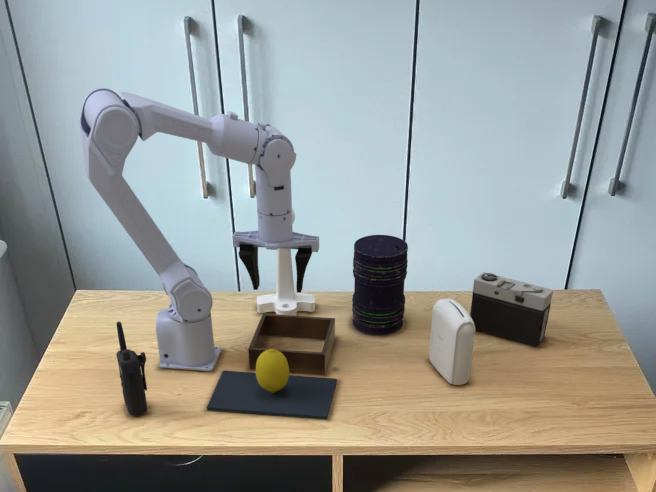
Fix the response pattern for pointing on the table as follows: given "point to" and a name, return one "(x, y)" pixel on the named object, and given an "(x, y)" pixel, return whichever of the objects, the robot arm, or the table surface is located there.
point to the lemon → (272, 370)
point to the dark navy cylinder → (379, 284)
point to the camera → (510, 308)
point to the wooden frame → (295, 328)
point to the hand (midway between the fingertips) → (278, 288)
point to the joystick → (285, 289)
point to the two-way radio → (132, 376)
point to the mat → (273, 396)
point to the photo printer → (452, 341)
